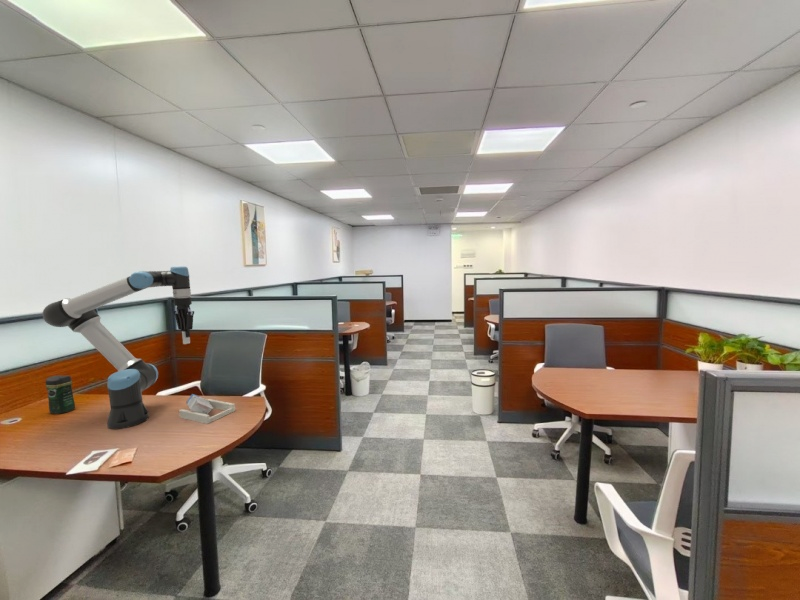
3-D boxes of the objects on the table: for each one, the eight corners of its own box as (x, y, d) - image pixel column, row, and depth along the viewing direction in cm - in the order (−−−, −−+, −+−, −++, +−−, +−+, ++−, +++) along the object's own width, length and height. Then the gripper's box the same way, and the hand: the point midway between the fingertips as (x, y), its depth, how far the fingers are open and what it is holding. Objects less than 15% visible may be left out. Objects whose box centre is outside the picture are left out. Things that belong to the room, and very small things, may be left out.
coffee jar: (79, 408, 177) (74, 373, 175) (61, 414, 169) (56, 378, 167) (63, 407, 178) (59, 373, 177) (46, 414, 171) (40, 378, 169)
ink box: (185, 402, 166) (190, 411, 155) (192, 393, 168) (197, 401, 156) (202, 409, 171) (207, 418, 159) (208, 400, 172) (214, 408, 161)
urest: (179, 417, 161) (179, 410, 161) (208, 405, 175) (208, 398, 174) (207, 423, 153) (206, 416, 153) (235, 410, 167) (234, 403, 167)
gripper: (166, 298, 170) (171, 344, 172) (183, 298, 165) (187, 346, 167) (181, 296, 177) (185, 341, 179) (198, 296, 171) (202, 342, 174)
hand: (186, 343), depth 173 cm, fingers closed
